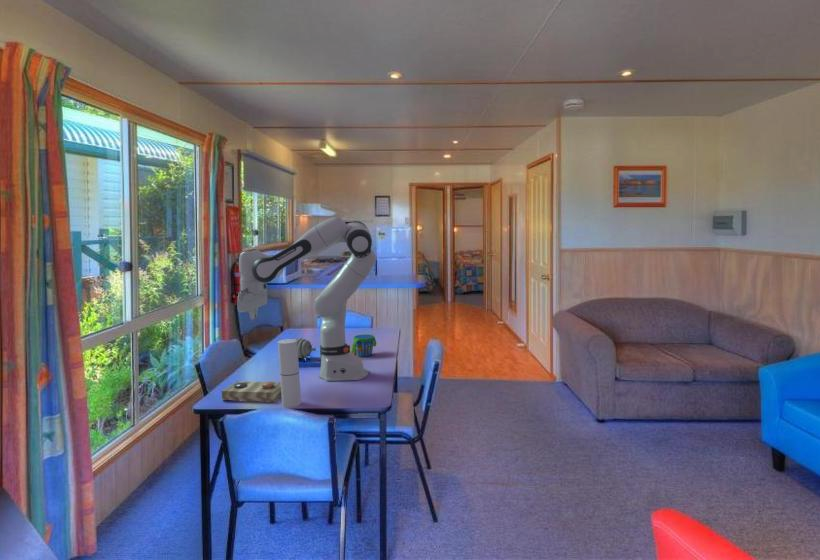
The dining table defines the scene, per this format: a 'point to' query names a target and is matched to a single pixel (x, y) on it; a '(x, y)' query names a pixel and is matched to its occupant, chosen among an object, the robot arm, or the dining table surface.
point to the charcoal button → (240, 385)
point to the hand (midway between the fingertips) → (253, 318)
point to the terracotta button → (267, 385)
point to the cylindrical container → (289, 372)
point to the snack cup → (363, 345)
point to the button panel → (252, 392)
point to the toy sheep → (304, 348)
